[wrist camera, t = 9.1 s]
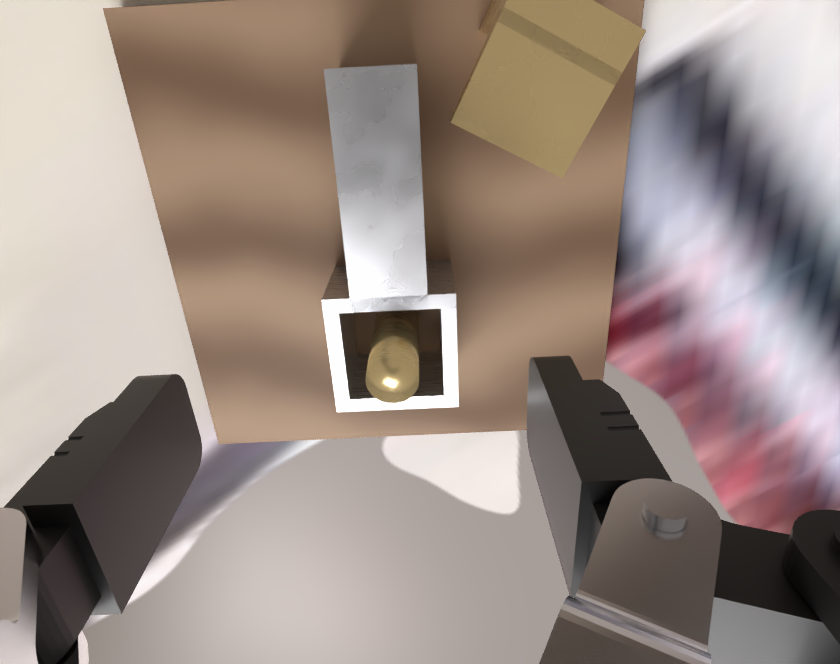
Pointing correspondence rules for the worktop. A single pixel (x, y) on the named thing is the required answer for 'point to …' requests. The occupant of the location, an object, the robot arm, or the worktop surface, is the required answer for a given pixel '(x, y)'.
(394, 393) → the cylinder
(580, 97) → the block
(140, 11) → the board
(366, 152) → the link
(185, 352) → the worktop surface
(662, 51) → the worktop surface
